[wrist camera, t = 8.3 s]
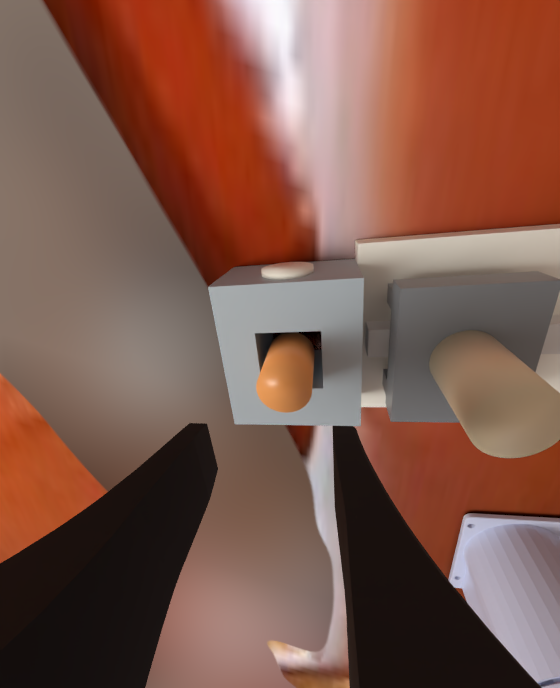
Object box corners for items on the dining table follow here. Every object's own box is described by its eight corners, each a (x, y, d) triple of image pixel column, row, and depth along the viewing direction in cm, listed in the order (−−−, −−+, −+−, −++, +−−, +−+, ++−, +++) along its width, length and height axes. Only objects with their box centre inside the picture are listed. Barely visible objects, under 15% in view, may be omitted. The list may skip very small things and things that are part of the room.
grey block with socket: (353, 380, 20) (360, 426, 16) (251, 381, 22) (234, 423, 18) (355, 253, 17) (364, 270, 13) (233, 261, 18) (206, 280, 14)
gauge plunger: (315, 372, 17) (313, 412, 13) (271, 372, 17) (259, 412, 14) (313, 330, 16) (310, 365, 12) (267, 332, 16) (252, 365, 13)
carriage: (492, 390, 17) (587, 502, 11) (381, 390, 18) (411, 493, 12) (521, 265, 14) (675, 320, 8) (388, 273, 15) (432, 328, 9)
